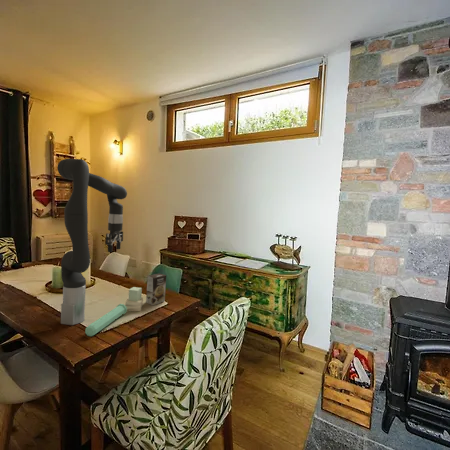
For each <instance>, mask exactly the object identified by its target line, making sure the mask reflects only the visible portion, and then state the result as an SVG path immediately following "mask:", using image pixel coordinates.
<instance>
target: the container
mask: <svg viewBox="0 0 450 450" xmlns="http://www.w3.org/2000/svg"><path fill="white" fill-rule="evenodd" d="M127 312H128V311H127V307H126V306H125V304H124V303H119V304H118V305H116V306H115V307H114V308H113V309H112V310H110V311H108V312H106V314H104V315H102V316H101V317H100V318H98V319H96V320H95V321H93V322H92V323H90V324H89V325H87V326H86V327H85V331H84V332H85V335H86V336H87V337H94V336H95V335H96V334H97V333H99V332H101V331H102V330H103V329H104V328H106V327H107V326H109V325H110V324H112V323H113V322H114V321H116V320H117V319H118V318H120V317H121V316H122V314H124V315H125V314H126V313H127ZM115 319H116V320H115Z"/></svg>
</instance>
